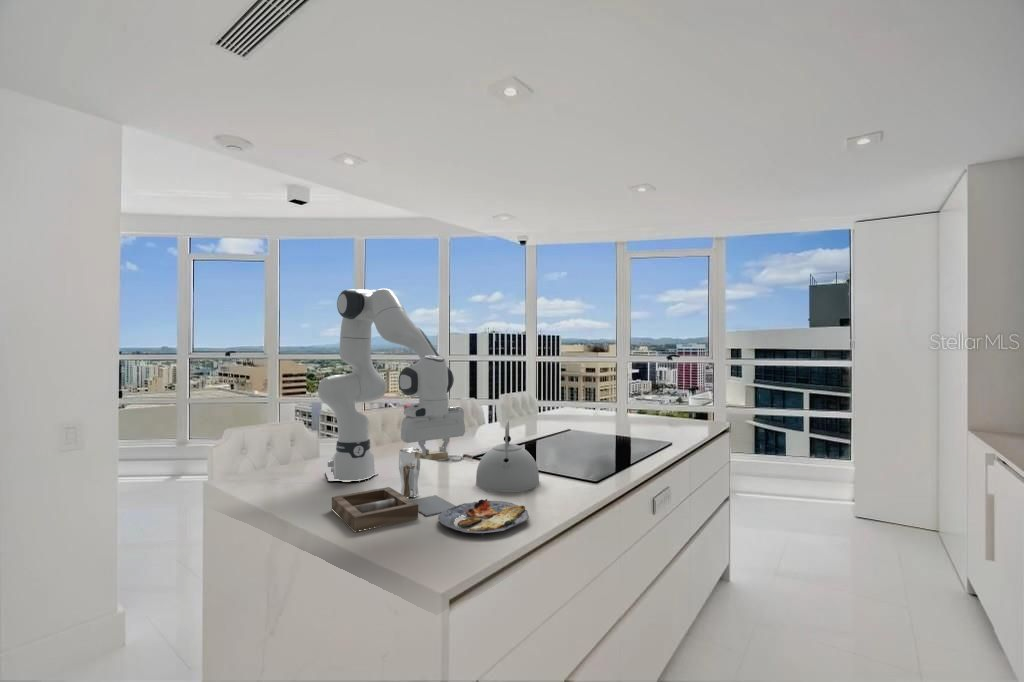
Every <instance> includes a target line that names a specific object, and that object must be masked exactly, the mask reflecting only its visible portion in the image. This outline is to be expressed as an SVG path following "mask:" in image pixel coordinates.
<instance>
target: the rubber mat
mask: <svg viewBox="0 0 1024 682" xmlns="http://www.w3.org/2000/svg"><path fill="white" fill-rule="evenodd" d="M411 500H412V501H413V502H415V503H417V504H418V511H419V512H418V513H420V512H421V513H422V515H423V516H424V515H425V516H424V517H426V518H427V517H431V515H432V516H435V515H440V514H441V513H442V512H443V511H445V510H448V509H450V508H453V507H456V506H457V505H455V504H454V503H451V502H449V501H447V500H446V499H444V498H443V497H440V496H438V495H436V494H433V495H430V496H424V497H419V498H415V499H411ZM421 513H420V514H421Z"/></svg>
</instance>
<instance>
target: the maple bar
mask: <svg viewBox="0 0 1024 682" xmlns="http://www.w3.org/2000/svg"><path fill="white" fill-rule="evenodd" d="M448 454H449V453H448V452H447V451H446V452H440V451H439V450H429V455H427V456H423V455H422V450H420V451H417V452H415V458H420V460H421V459H422V460H429V461H440V460H447V459H449V455H448Z"/></svg>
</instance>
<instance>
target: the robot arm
mask: <svg viewBox="0 0 1024 682" xmlns="http://www.w3.org/2000/svg"><path fill="white" fill-rule="evenodd" d="M336 307H337V311H338V313H339V315H340V316H341V317H342V321H341V326H340V333H339V334H340V336H339V358H340V360H341V361H342V362H344V363H346V364H348V365H350V366H351V368H352V373H345V374H333V375H330V376H329V375H328V376H325V377H323V378H321V380H320V382H319V384H318V386H317V394H318V397H319V399H320V401H321V402H323V403H324V404H326V405H327V406H328V407H329V408H330V409H331V411H332V412H333V414H334V416H335V419H336V424H337V441H336V445H335V450H336V451H335V453H334V454H333V456H332V457H331V460H328V461H327V468H330V469H331V472H333V475H334V479H339V480H358V479H364V478H367V477H370V476H372V475H373V474H375V473H377V472H378V473H379V471H378V470H375V469H376V468H375V466H376V465H375V455H374V452H373V451H371V450H370V449H371V438H370V437H369V436H370V428H369V427H370V423H369V422H370V420H369V418H368V417H367V416H366V415H365V414H364V413H362V412H359V411H358V410H357V408H356V405H355V404H358V403H369V402H374V401H377V400H380V399H382V398H383V397H384V396H385V395H386V392H387V381H386V380H385V378H384V376H383V375H382V374H380V373H379V372H378V371H377V369H376V368H375V366H374V364H373V361H372V325H373V323H374V325H375V328H376V331H377V333H378V334H379V336H380V337H381V338H382V339H383V340H384V341H387V342H389V343H392V344H395V345H396V344H397V345H400V346H403V347H405V348H408V349H410V350H413V352H415V353H416V355H418V357H419V361H417V362H416V363H414V364H412V365H409V366H406V367H404V368H403V369H402V370H401V371H400V373H399V376H398V387H399V390H400V391H401V393H403V395H404V396H409V397H419V399H418V403H415V404H413V405H411V406H408V407H406V408H404V409H403V416H404V417H403V419H402V421H401V424H400V425H401V428H400V439H401V440H402V442H404V443H406V444H410V443H417V444H418V446H419V448H420V449H421V451H422V455H423V456H427V455H429V449H428V448H426V446H425V445H426V441H434V440H441V439H442V441H443V443H442V445H441V446H439V448H438V449H439V450H438V451H440V452H447V447H448V446H449V443H450V439H451V438H456V437H457V438H458V437H463V436H464V435H465V433H466V427H465V426H466V425H465V410H464V409H463V408H462V407H460V406H450V407H449V395H448V393H449V392H450V391H451V390H452V387H453V386H454V385H453V384H454V382H455V378H454V377H455V376H454V374H453V372H452V370H451V368H450V367H449V366H448V364H447V361H446V359H445V358H444V357H443V356H440V355H439V353H438V351H436V349H435V347H434V346H433V344H432V342H431V341H430V340H429V338H428V337H427V335H426V334H425V333H424V331H423V330H422V329H421V328H419V327H418V326H417V325H416V323H414V322H413V321H412V319H410V317H409V316H408V314H407V312H406V310H405V308H404V306H403V304H402V302H401V301H400V299H399V297H398V296H397V295H396V294H395V292H394V291H392V290H391V289H389V288H379V289H354V288H350V289H348V288H347V289H344V290H342V291H341V292H340V294H339V295H338V297H337V301H336Z"/></svg>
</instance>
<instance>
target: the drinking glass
mask: <svg viewBox="0 0 1024 682" xmlns="http://www.w3.org/2000/svg"><path fill="white" fill-rule="evenodd" d="M420 449H421V448H418V447H417V448H416V447H408V448H407V447H406V448H401V449H399V453H398V470H399V476H400V483H401V489H400V494H402V495H403V496H405V497H414V496H417V495H419V496H420V491H419V477H420V476H419V475H420V470H421V458H415V452H417V451H421V450H420ZM417 497H418V496H417ZM414 498H415V497H414Z"/></svg>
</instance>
